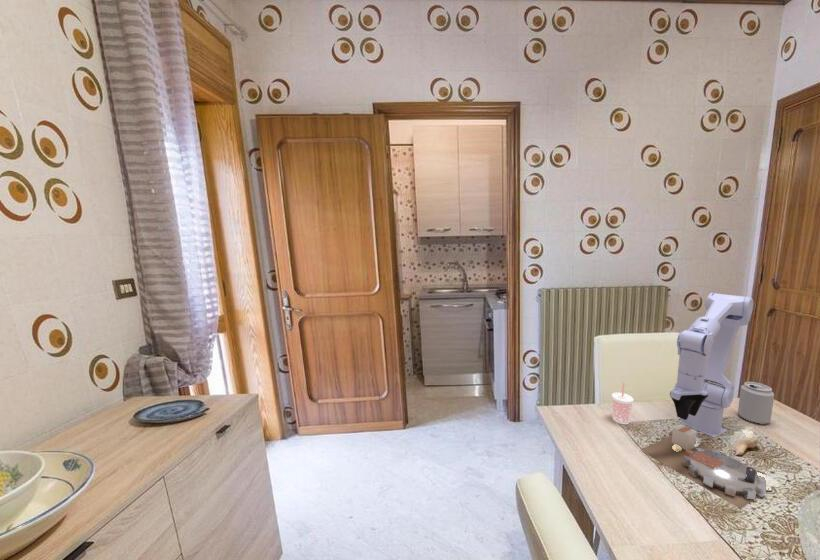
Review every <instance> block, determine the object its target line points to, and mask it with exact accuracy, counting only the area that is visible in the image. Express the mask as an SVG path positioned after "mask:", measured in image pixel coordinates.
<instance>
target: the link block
mask: <svg viewBox="0 0 820 560" xmlns="http://www.w3.org/2000/svg"><path fill="white" fill-rule="evenodd" d="M697 435H698V430H696V429H694V428H693V429H692V427H690V426H688V425H685V424H683V423H680V424H678V425H676V426H673V428H672V435H671V436H672V443H673V444H677V445H679V446H680V447H681V448H683V449H684V450H686V451H687V450H688V449H689V450H690V449H692V448H694V445H695V444H696V441H697V437H698V436H697Z"/></svg>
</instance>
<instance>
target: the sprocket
mask: <svg viewBox="0 0 820 560" xmlns="http://www.w3.org/2000/svg"><path fill="white" fill-rule="evenodd" d="M715 450H716V449H714V450H711V452H710V451H705V450H703V449H702V448H695V452H693V451H691V450H689V449H688V450H687V451H685V455H684V459H683V463H684V466H686V467H689V470H688V472H689V473H690V474H691V475H692V476H693V477H699V478H701V479H702V480H703V484H705V485H707V486H709V487H711V488H714V487H716V488H719V489H721V490H724V493H725V494H727V495H731V496H734V497H735V494H739V495H743V496H744V497H745V498H746V499H754V500H756V499H755V496H756V495H758V497H760V498H763V497H765V496H766V492H767V491H766V480H765V478H764V477H761V476H758V475H757V472H758V471H759V470H758V471H757V469H756V468H754V467H753V465H747V464H745V463H743V462H741V459H740V458H738V457H735V456H733V455H730V456H729V455H727V456H725V455H726V454H725V455H722V454H721V453H722V452H721V453H720V451H718V450H716V451H715ZM728 456H729V457H728ZM740 462H741V463H740ZM742 463H743V464H742ZM744 464H745V465H744ZM746 465H747V466H746Z"/></svg>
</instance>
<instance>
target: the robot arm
mask: <svg viewBox="0 0 820 560" xmlns="http://www.w3.org/2000/svg"><path fill="white" fill-rule="evenodd" d="M754 303H755V302H754V299H753V298H752V297H751V296H743V295H733V294H725V293H723V294H722V293H718V292H717V293H716V292H710V293H709V294H708V295H707V297H706V299H705V309H706V312H705V315H704V316H700V317H697V318H696V319H695V321H693V323H692V324H691V325H690V326H689V328H688V329H685V330H681V331H680V332H679V333H678V335H677V338H676V346H677V347H676V348H677V355H678V356H679V359H678V367H677V368H678V369H677V378H676V383H675V385H674V387H673V389H672V390H670V392H669V397H670V398H671V400H672V402H673V404H674V407H675V413H676V417H677V418H679V420H678V422H679V423H680V424H682V425H685V426H687V427H690V428H691V429H692V428H693V430H695V431H699V432H701V433H703V434H705V435H707V436H709V437H711V438H716V437H718V436H720V435H722V434H724V433H726V432H728V430H727V429H726V428H723V426H722V424H723V417H724V416H723V415H724V409H728V408H729V407H730V406H731V404H732V402H733V399H734V390H735V386H734V384H733V383H732V382H731V381H730V380H729V379H728V378H727V377H726V376H725V374H726V372H727V371H726V370H727V368H728V365H729V361H730V357H731V353H732V350H733V347H734V344H735V340H736V336H737V333H738V331H739V329H740V327H742V326H748V325H749V323H750V321H751V317H752V314H753V311H754V305H755V304H754Z"/></svg>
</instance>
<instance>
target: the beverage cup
mask: <svg viewBox="0 0 820 560" xmlns="http://www.w3.org/2000/svg"><path fill="white" fill-rule="evenodd" d="M621 388H622V389H621V392H613V393H611V399H612V420H613V421H614V422H616V423H618V424H620V425H628V424H630V418H631V414H632V413H631V412H632V406H633V403H634V398H633V397H632V396H631V395H630V394H627V393H625V392H624V391H625V382H622V387H621Z"/></svg>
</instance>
